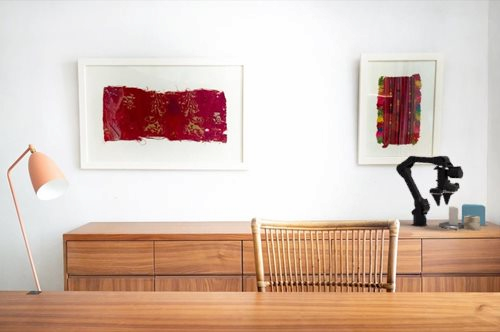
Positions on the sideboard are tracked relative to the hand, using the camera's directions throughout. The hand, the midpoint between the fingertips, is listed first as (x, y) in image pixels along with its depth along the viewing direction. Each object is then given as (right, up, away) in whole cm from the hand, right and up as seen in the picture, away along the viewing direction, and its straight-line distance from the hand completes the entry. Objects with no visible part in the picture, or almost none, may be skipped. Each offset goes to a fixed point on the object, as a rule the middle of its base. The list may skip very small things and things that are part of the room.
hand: (442, 205), depth 240 cm
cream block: (+8, -12, +4) cm, 15 cm away
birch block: (+15, -13, -2) cm, 20 cm away
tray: (+8, -13, +4) cm, 16 cm away
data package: (+24, -13, +13) cm, 31 cm away
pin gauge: (+4, -12, 0) cm, 13 cm away
